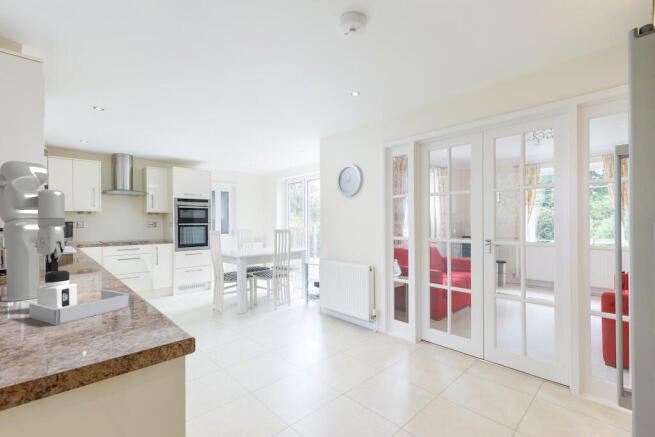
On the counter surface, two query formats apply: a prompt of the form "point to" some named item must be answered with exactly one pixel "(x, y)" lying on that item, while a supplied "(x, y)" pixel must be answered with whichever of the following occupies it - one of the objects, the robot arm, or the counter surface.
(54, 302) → the container
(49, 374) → the counter surface
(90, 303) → the tray
